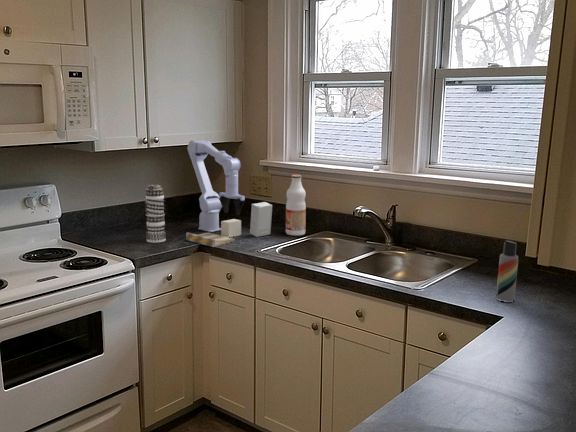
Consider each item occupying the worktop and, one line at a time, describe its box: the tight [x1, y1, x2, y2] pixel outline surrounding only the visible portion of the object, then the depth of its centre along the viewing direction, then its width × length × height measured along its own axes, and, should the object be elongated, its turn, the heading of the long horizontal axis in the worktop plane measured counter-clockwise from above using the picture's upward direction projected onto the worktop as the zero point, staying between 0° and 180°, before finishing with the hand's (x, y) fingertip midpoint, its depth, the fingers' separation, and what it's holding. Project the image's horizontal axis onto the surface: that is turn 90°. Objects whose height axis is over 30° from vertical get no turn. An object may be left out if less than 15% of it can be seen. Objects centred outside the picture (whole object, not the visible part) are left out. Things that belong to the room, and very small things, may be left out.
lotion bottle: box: [495, 240, 519, 301], centre depth 190 cm, size 6×6×20 cm
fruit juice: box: [285, 174, 307, 236], centre depth 277 cm, size 9×9×28 cm
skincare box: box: [249, 201, 273, 237], centre depth 273 cm, size 8×6×15 cm
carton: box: [220, 218, 242, 238], centre depth 273 cm, size 5×8×7 cm, turn 139°
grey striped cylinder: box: [144, 183, 167, 244], centre depth 260 cm, size 9×9×25 cm
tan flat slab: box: [185, 231, 236, 248], centre depth 263 cm, size 18×14×3 cm
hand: (231, 213), depth 272 cm, fingers open, 7 cm apart
